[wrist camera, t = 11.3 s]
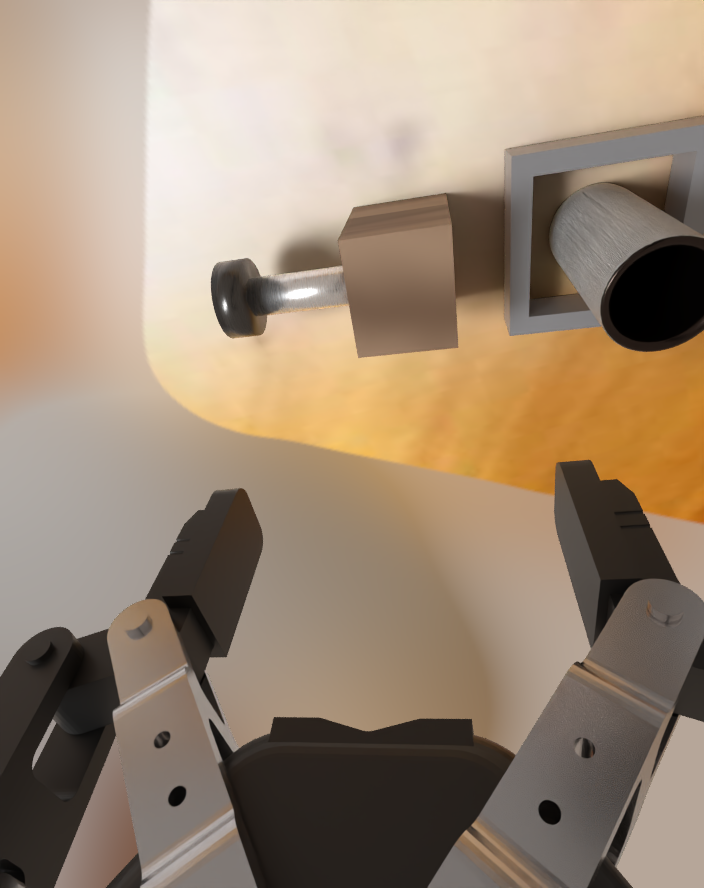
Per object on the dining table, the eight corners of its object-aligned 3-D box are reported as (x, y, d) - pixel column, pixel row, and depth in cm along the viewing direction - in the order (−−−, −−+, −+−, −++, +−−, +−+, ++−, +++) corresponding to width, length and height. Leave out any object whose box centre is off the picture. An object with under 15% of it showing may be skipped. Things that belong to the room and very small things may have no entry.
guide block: (353, 207, 28) (337, 240, 23) (445, 193, 28) (451, 224, 22) (368, 308, 32) (358, 357, 26) (452, 298, 31) (458, 347, 26)
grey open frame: (504, 149, 26) (511, 156, 24) (702, 115, 24) (727, 120, 22) (504, 318, 31) (509, 335, 29) (667, 300, 30) (685, 317, 28)
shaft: (227, 252, 29) (203, 276, 25) (399, 227, 27) (396, 249, 24) (248, 320, 31) (227, 350, 28) (407, 301, 29) (405, 331, 26)
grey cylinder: (638, 169, 26) (739, 218, 18) (639, 258, 28) (728, 338, 20) (543, 197, 27) (597, 256, 19) (552, 280, 30) (603, 364, 21)
